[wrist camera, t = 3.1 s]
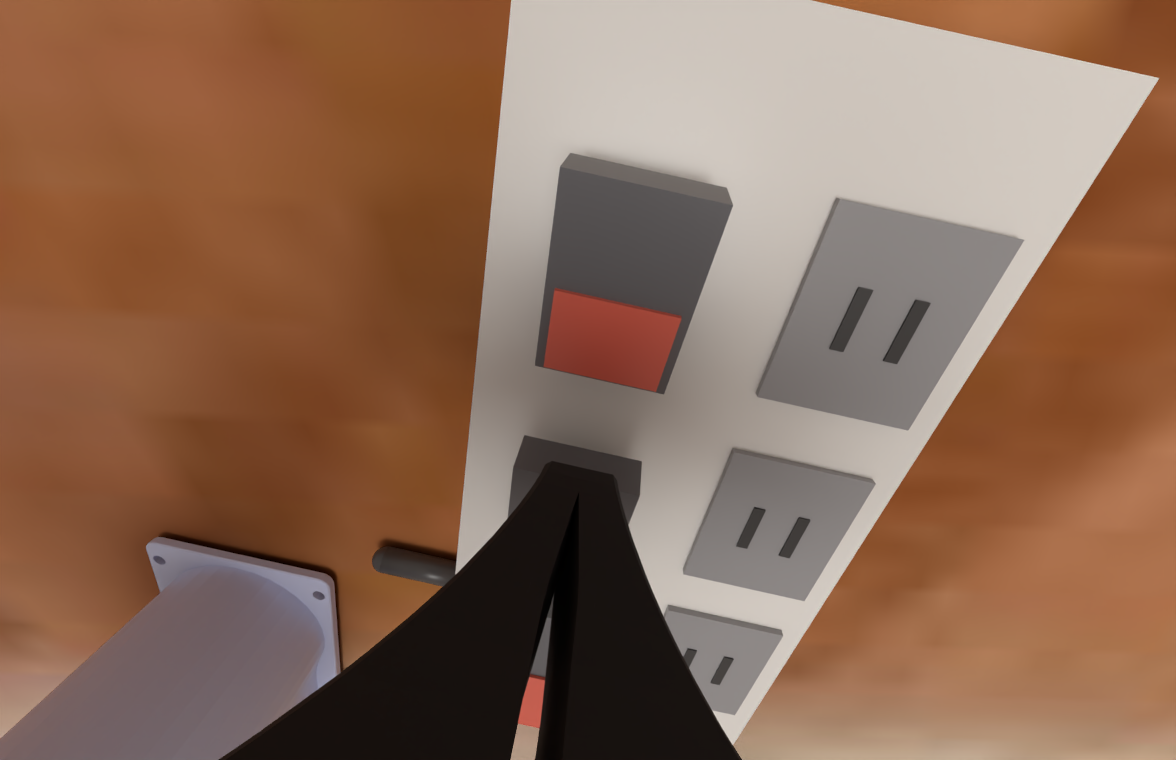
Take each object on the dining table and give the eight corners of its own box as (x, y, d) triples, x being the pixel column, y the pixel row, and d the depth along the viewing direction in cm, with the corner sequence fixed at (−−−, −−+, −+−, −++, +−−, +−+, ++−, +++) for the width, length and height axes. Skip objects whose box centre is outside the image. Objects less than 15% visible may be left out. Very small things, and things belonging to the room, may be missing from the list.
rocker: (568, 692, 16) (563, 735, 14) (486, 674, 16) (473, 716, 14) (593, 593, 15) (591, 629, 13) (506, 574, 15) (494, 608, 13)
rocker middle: (609, 540, 14) (603, 590, 12) (515, 519, 14) (501, 567, 12) (642, 449, 11) (639, 499, 10) (528, 423, 11) (511, 471, 10)
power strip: (714, 670, 20) (728, 762, 17) (380, 595, 20) (333, 674, 17) (1017, 99, 11) (1174, 75, 8) (375, -44, 11) (267, -128, 7)
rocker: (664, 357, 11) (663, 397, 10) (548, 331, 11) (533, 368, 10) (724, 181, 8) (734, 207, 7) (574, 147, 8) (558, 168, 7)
